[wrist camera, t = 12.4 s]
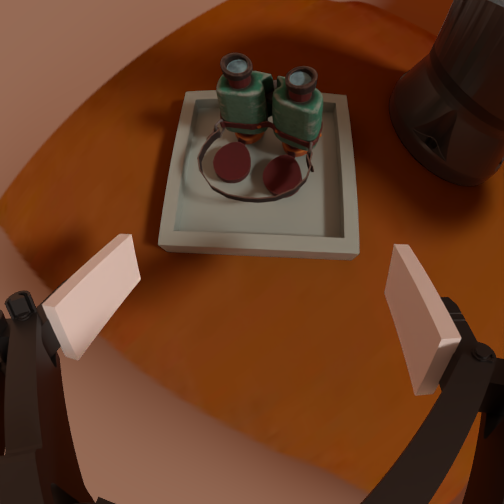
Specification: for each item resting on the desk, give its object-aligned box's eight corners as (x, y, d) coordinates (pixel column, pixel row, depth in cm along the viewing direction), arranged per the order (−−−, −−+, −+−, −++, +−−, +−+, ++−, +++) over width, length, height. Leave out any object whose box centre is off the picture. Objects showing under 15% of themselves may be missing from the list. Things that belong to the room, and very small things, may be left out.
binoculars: (157, 150, 17) (218, 35, 18) (200, 200, 28) (237, 109, 29) (307, 189, 16) (343, 59, 17) (297, 229, 27) (326, 131, 28)
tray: (342, 110, 30) (346, 95, 27) (351, 260, 26) (359, 253, 24) (191, 106, 31) (186, 91, 28) (167, 251, 27) (157, 244, 25)
